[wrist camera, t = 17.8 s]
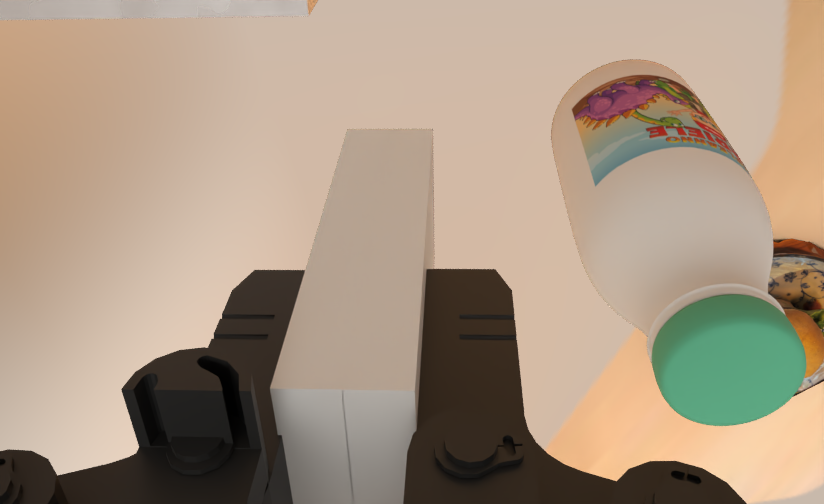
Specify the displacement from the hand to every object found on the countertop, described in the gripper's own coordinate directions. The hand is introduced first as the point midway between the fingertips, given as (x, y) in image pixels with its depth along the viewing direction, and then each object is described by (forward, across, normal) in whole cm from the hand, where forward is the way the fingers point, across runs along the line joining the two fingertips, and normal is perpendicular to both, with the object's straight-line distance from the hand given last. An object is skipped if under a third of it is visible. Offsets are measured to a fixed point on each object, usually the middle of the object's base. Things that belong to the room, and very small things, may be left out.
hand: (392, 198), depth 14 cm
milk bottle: (+27, -10, +10) cm, 30 cm away
